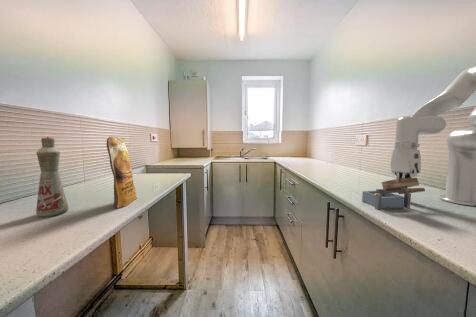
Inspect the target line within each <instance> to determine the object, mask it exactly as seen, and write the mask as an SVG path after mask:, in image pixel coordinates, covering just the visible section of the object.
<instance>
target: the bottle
mask: <svg viewBox="0 0 476 317" xmlns="http://www.w3.org/2000/svg"><path fill="white" fill-rule="evenodd" d="M55 140H56V139H55V138H54V137H49V136H46V137H41V139H40V141H41V146H42V147H40V148H39V149H38V150H37V151H36V157H37V161H38V165H39V168H40V176H39V182H38V183H39V184H38V192H37V201H36V210H35V214H36V215H37V216H38V217H41V218H42V217H43V218H44V217H53V216H57V215H58V216H59V215H62V214H64V213H66V212H68V210H69V208H70V206H69V203H68V200H67V198H66V194H65V189H64V186H63V183H62V178H61V175H60V171H59V166H60V156H61V151H60V150H59V149H57V148H56V147H55Z"/></svg>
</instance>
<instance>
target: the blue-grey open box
mask: <svg viewBox="0 0 476 317" xmlns="http://www.w3.org/2000/svg"><path fill="white" fill-rule="evenodd" d="M374 194H376V190H364V191H362V194H361V195H362V196H361V200H362V202H363V203H366V204H367V205H370V206H373V207H375V197H376V195H374ZM379 194H381V195H382V196H383V197H382V202H381V210H388V209H389V210H390V209H392V210H394V209H404V207H403V205H404V196H403V195H401V194H397V193H379Z"/></svg>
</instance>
